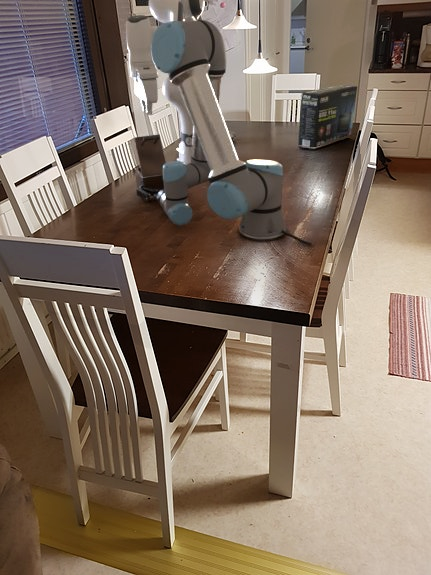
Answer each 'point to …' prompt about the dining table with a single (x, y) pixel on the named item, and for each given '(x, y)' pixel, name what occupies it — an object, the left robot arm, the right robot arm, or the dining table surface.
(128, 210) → the dining table surface
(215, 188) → the right robot arm
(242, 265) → the dining table surface
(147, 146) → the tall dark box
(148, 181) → the chest
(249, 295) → the dining table surface
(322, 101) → the router box
